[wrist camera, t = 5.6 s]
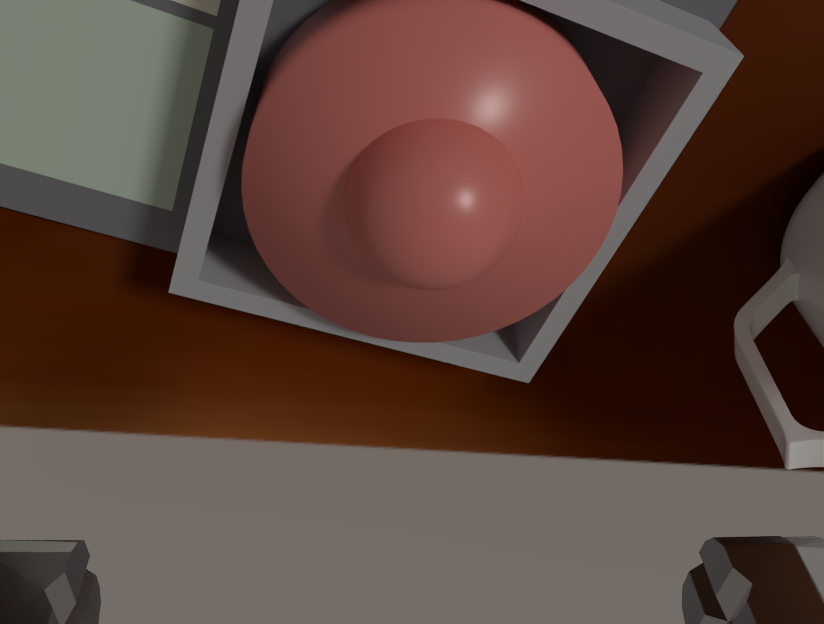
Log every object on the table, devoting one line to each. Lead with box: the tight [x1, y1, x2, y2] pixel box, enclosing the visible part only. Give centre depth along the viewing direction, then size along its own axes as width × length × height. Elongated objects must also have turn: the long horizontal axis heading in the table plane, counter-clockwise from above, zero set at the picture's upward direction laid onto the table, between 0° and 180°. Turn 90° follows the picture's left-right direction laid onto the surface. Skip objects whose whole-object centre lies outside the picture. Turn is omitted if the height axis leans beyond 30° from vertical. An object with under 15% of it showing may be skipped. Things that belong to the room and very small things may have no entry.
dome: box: [241, 0, 623, 343], centre depth 23 cm, size 11×11×6 cm
